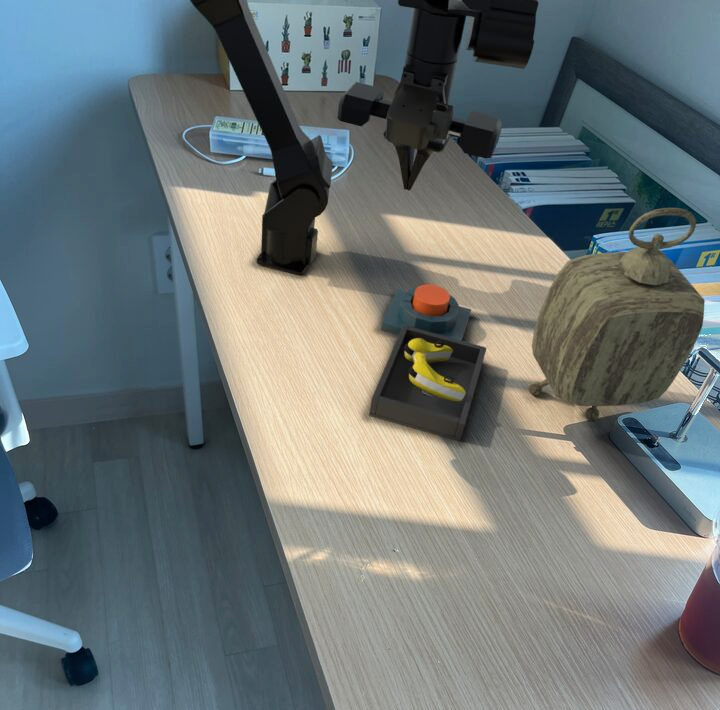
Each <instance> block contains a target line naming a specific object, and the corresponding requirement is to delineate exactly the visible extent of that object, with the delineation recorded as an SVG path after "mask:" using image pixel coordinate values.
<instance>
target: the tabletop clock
mask: <svg viewBox="0 0 720 710" xmlns="http://www.w3.org/2000/svg"><path fill="white" fill-rule="evenodd" d="M663 216H676V217H683V218H684V219H687V221H688V222H689V226H690V227H689V230H688V231H687V233H685V235H682V236H680V237H679V238H675V239H671V240H667V241H664V240H665V237H664V236H663V235H662V234H660V233H656V234H653V237H652V239H651V241H645V240H641V239H638V238H637V237H636V236H634V235H635V230H636V229H637V228H638V227H639V226H640V225H641V224H643V223H644V222H646V221H647V220H650V219H653V218H655V217H663ZM696 223H697V219H696V217H695V216H694V214H693V213H691V211H689V210H687V209H685V208H679V207H662V208H656V209H653V210H651V211H648V212H646V213H644V214H643V215H641V216H639V217H638V218H637V219H636V220H635V221H634V222H633V223H632V224H631V226H630V228H629V230H628V239H629V241H630V242H631V244H632V245H634V246H636V247H634V248H631V249H629V250H627V251H617V252H615V251H614V252H601V253H591V254H586V255H581V256H578V257H575V258H572V259H570V260H567V262H566V263H565V264H564V265H563V266H562V268H561V269H560V270H559V271H558V273H557V275H556V276H555V278H554V280H553V281H552V283H551V285H550V287H549V289H548V292H547V294H546V296H545V298H544V300H543V303H542V305H541V307H540V309H539V313H538V315H537V316H538V317H537V319H536V324H535V327H534V330H533V335H532V341H531V343H532V344H531V351H532V356H533V357H534V360H535V361H536V363H537V364H538V366H539V368H540V370H541V372H542V374H543V375H544V378H545V379H544V380H543V381H541V382H539V381H532V382H530V383H529V385H528V392H529V393H530V395H533V396H537V395H540V394H541V393H542V391H543V389H544V388H543V387H546V386H550V388H551V390H552V391H553V394H554V395H555V397H556V398H558V399H560V400H562V401H566V402H568V403H571V404H573V405H576V406H580V407H588V408H587V409H586V410H585V413H584V416H585V418H586V419H587V421H591V422H594V421H596V420H598V419H599V417H600V415H601V413H600V410H599V409H598V407H616V406H625V405H637V404H644V403H649V402H652V401H655V400H658V399H660V398H661V397H662V395H664V394H665V393H666V392H667V390H668V389H669V388H670V387H671V385H672V384H673V382H674V381H675V380H676V378H677V376H678V374H679V373H680V371H681V370H682V368H683V367H684V365H685V364H686V362H687V360H688V358H689V356H690V354H691V352H692V350H693V348H694V347H695V345H696V342H697V340H698V338H699V336H700V334H701V331H702V328H703V325H704V317H705V301H706V299H704V297H703V295H701V294H700V293H699V292H698V290H697V289H696V288H695V287H694V286H693V284H691V282H690V280H688V278H687V277H686V276H685V275H684V274H683V273H682V272H681V271H680V269H679V268H678V267H677V266H676V265H675V264H674V262H673V261H672V260H671V259H669V258H668V256H667V255H666V253H664V251H662V250H664V249H670V248H673V247H676V246H679V245H681V244H683V243H684V242H685V241H687V240H689V238H690V237H691V236H692V235H693V234H694V233H695V229H696V226H697V224H696Z"/></svg>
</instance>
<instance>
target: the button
mask: <svg viewBox="0 0 720 710" xmlns="http://www.w3.org/2000/svg"><path fill="white" fill-rule="evenodd" d="M416 288H417V287H416ZM450 295H451V294H450V293H449V292H448V291H447V290H446V289H445V288H443V287H441V286H439V285H436V284H430V283H429V284H421V285H419V286H418V288H417V289H416V290H415V294H414V299H413V307H414V309H416V310H417V311H418V312H420V313H422V314H426V315H429V316H441V315H443V314H445V313H446V311H447V308H448V304H449V300H450Z"/></svg>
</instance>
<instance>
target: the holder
mask: <svg viewBox="0 0 720 710" xmlns="http://www.w3.org/2000/svg"><path fill="white" fill-rule="evenodd" d="M416 338H421V339H423V340H425V341H426V342H429V343H431V344H435V343H436V342H437V341H442V342H443V345H446V346H448V347H450V348H451V349H452V350H453V352H452V354H451V356H450V358H449V359H447V360H444V361H432V362H427V364H428V365H429V366H430V367H431V368H432V369H433V370H434V371H435V372H436V373H437V374H438V375H440V376H442V377H444V378H445V377H446V376H452V377H453V379H454V383H456V384H458V385H460V386H461V387H463V389H464V390H465V392H466V394H465V396H464V398H463V399H462V401H452V400H447V399H444V398H440V397H437V396H435V395H433V394H432V395H433V396H432V397H431V396H425V395H423V393H422V390H420V388H417V387H416V386H415V385H414V384H412V382H411V381H410V379H409V368H410V367H412V366H413V365H414V364H415V363H414V362H412V361H409V360H407V359H406V357H405V350H404V346H405V345H406V344H408V343H409V342H410V341H411V340H413V339H416ZM438 344H439V345H441V344H442V343H438ZM487 348H488V347H487V346H482V345H478V344H475V343H471V342H468V341H464V340H462V341H461V340H457V339H454V338H450V337H446V336H443V335H439V334H435V333H432V332H428V331H424V330H421V329H417V328H413V327H410V326H409V327H408V326H406V325H403V326H402V329H401V331H400V333H399V335H397V338H396V341H395V343H394V345H393V347H392V350H391V352H390V354H389V357H388V359H387V362H386V364H385V366H384V368H383V371H382V373H381V375H380V378H379V380H378V382H377V385H376V387H375V390H374V392H373V395H372V396H371V401H370V406H369V413H368V416H369V417H372V418H376V419H379V420H383V421H386V422H388V423H393V424H396V425H400V426H403V427H407V428H411V429H413V430H417V431H421V432H424V433H426V434H431V435H434V436H438V437H442V438H445V439H447V440H448V439H449V440H452V441H455V442H459V443H460V442H461V440H462V437H463V433H464V430H465V427H466V424H467V421H468V416H469V412H470V409H471V406H472V401H473V399H474V395H475V392H476V388H477V384H478V381H479V376H480V373H481V370H482V366H483V362H484V359H485V355H486V352H487ZM446 379H448V380H450V381H452V379H451V378H450V377H446Z"/></svg>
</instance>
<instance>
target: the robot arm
mask: <svg viewBox="0 0 720 710" xmlns="http://www.w3.org/2000/svg"><path fill="white" fill-rule="evenodd" d="M189 1H190V2H191V4H192V6H193V7H194V8H195V9H196V10H197V11H198V13H200V14H201V16H202V17H203V18H204V19H205V20H206V21H207V22H208V23H209V24H210V25H211V26H212V28H213V29H214V31H215V33H216V36H217V37H218V39H219V42H220V44H221V46H222V48H223V50H224V53H225V55H226V56H227V59H228V61H229V63H230V65H231V67H232V69H233V72H234V74H235V76H236V79H237V81H238V82H239V84H240V87H241V90H242V91H243V93H244V95H245V98H246V100H247V102H248V104H249V106H250V108H251V110H252V113H253V115H254V117H255V119H256V121H257V124H258V125H259V128H260V130H261V132H262V134H263V136H264V139H265V141H266V143H267V145H268V147H269V151H270V153H271V156H272V164H273V170H274V175H275V179H274V180H273V181H272V182H270V185H269V189H268V194H267V198H266V203H265V207H264V212H263V214H262V216H261V245H260V247H261V248H260V251H261V252H260V253H259V254H258V256H257V258H256V259H255V260H256V262H255V263H256V264H257V265H261V266H265V267H268V268H272V269H276V270H279V271H282V272H285V273H286V272H287V273H289V274H290V273H291V274H294V275H297V276H301V275H303V274H304V272H305V271H306V270H307V268H308V267H309V266H311V264H312V263H313V261H314V260H315V259H316V256H317V247H318V235H319V230H318V229H317V228H315V224H316V218H317V217H319V216H321V215H322V214H323V213H324V211H326V209H327V206H328V204H329V197H330V189H331V184H332V175H333V174H332V173H333V164H334V162H333V161H332V160H331V159H330V158H329V156H328V155H327V153H326V149H325V146H324V142H323V138H322V136H321V135H320V134H319V135H316V136H315V137H313V138H312V139H311V138H310V137H309V136H308V135H307V134H306V133H305V132H304V131H303V130H302V128H301V125H300V124H299V122H298V120H297V117H296V115H295V113H294V110H293V107H292V106H291V103H290V101H289V98H288V96H287V94H286V91H285V90H284V89H285V88H284V86H283V84H282V81H281V80H280V78H279V75H278V73H277V70H276V68H275V65H274V63H273V61H272V58H271V56H270V54H269V51H268V49H267V47H266V45H265V43H264V40H263V37H262V35H261V33H260V30H259V28H258V26H257V23H256V21H255V19H254V17H253V16H254V15H253V14H252V12H251V9H250V6H249V3H248V0H189ZM397 4H398V6H399V7H404V8H409V9H410V8H411V9H412V15H411V21H410V26H409V27H410V29H409V32H408V40H407V46H406V52H405V59H404V65H403V68H402V73H401V77H400V81H399V82H398V85H397V88H396V90H395V92H394V94H393V99H392V101H390V100H386V99H384V95H385V93H384V88H382V87H379V86H376V85H375V86H374V85H371V84H368V83H367V84H366V83H363V82H359V81H356V82H354V83H353V84H351V85H350V86H349V88H347V90H346V91H345V92H344V93H343V94H342V96H340V99H339V103H338V109H337V119H338V121H340V122H342V123H346V124H350V125H353V126H357V127H363V126H364V125H366V124H367V123H368V122H369V121H370V120H371V116H372V117H376V118H379V119H383V120H384V119H385V120H386V127H385V130H384V131H383V138H384V139H385V140H387V142H389V143H391V144H392V145H393V146H394V148H395V152H396V154H397V158H398V163H399V168H400V174H401V180H402V186H403V190H406V191H411V190H412V189H413V186H414V184H415V183H416V181H417V179H418V177H419V175H420V174H421V171H422V169H423V167H425V166H424V165H425V164H426V162H428V160H429V158H430V157H431V155H432V154H433V153H439V154H441V153H443V152H444V150H445V148H446V146H447V145H448V143H449V141H450V139H451V137H455V138H458V139H460V140H459V143H458V144H459V145H458V146H459V147H460V149H461V150H462V152H463V154H466V155H470V156H474V157H477V158H482V159H485V160H486V159H492V157H493V154H494V152H495V151H496V148H497V145H498V143H499V141H500V136H501V134H502V129H503V123H502V121H501V119H500V117H499V116H498V117H497V116H493V115H490V114H486V113H481V112H478V111H474V110H471V111H470V113H469V116H468V117H467V119H466V120H465V119H461V118H458V117H454V106H453V105H452V104H449V103H450V98H451V93H452V88H453V83H454V79H455V74H456V68H457V64H458V59H459V54H460V49H461V45H462V44H461V43H462V39H463V34H464V29H465V26H466V25H465V24H466V20H467V17H469V21H468V25H467V31H466V37H465V50H466V51H472V59H473V60H472V61H473V63H481V64H488V65H494V66H501V67H508V68H516V69H521V70H524V69H525V68H526V67H527V66H528V63H529V61H530V58H531V56H532V52H533V50H534V45H535V38H534V37H535V30H536V22H537V12H538V8H539V0H397ZM415 151H416V153H415ZM414 157H415V158H414Z"/></svg>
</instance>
